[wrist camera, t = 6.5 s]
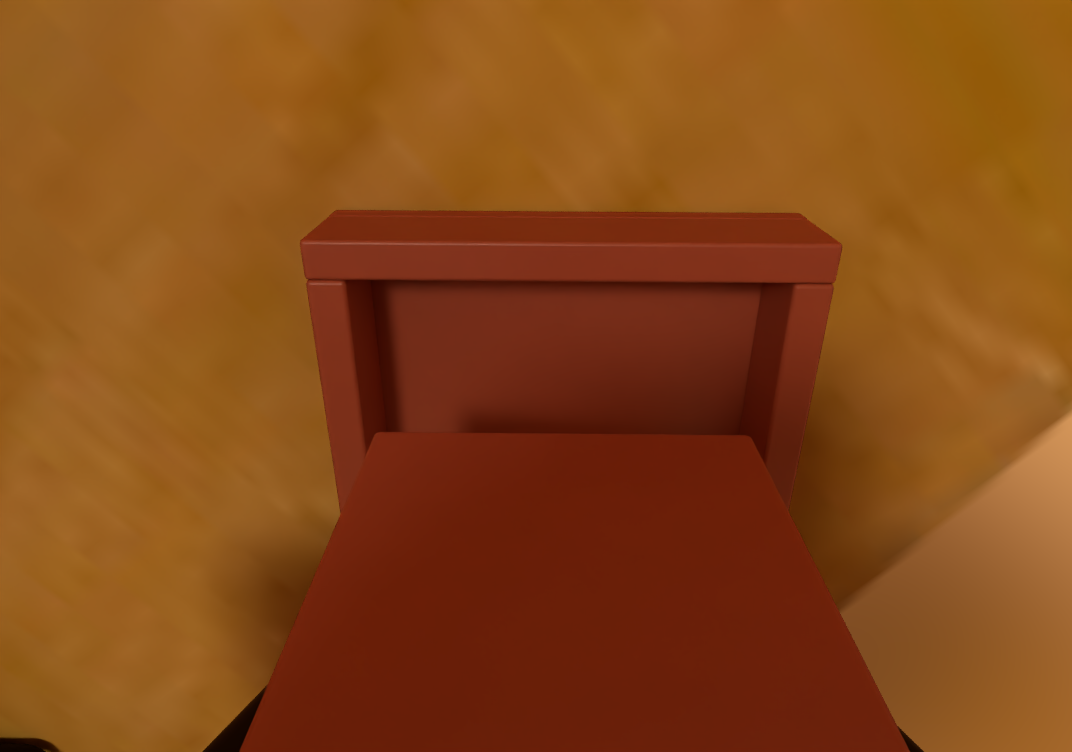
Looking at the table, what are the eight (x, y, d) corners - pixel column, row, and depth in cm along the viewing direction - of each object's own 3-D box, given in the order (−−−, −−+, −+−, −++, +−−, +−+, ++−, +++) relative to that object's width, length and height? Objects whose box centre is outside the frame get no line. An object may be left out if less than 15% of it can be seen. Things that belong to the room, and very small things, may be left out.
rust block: (709, 694, 11) (814, 1123, 7) (404, 691, 11) (313, 1113, 7) (751, 432, 9) (947, 814, 5) (374, 428, 9) (211, 802, 5)
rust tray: (729, 624, 16) (752, 698, 14) (385, 620, 16) (366, 692, 14) (800, 211, 11) (844, 244, 10) (334, 209, 12) (297, 240, 10)
